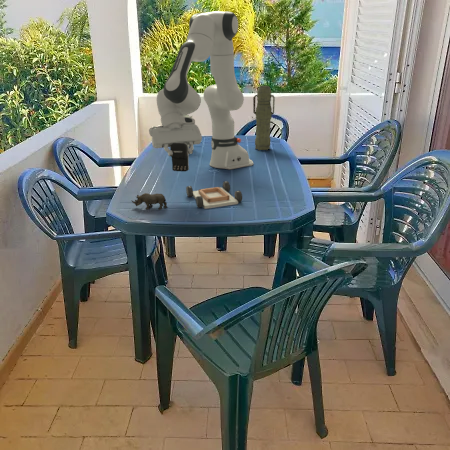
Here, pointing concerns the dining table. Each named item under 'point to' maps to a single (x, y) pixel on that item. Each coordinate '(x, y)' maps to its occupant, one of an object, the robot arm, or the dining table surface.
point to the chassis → (214, 196)
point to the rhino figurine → (151, 200)
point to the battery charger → (180, 156)
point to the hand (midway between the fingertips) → (180, 154)
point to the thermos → (263, 117)
